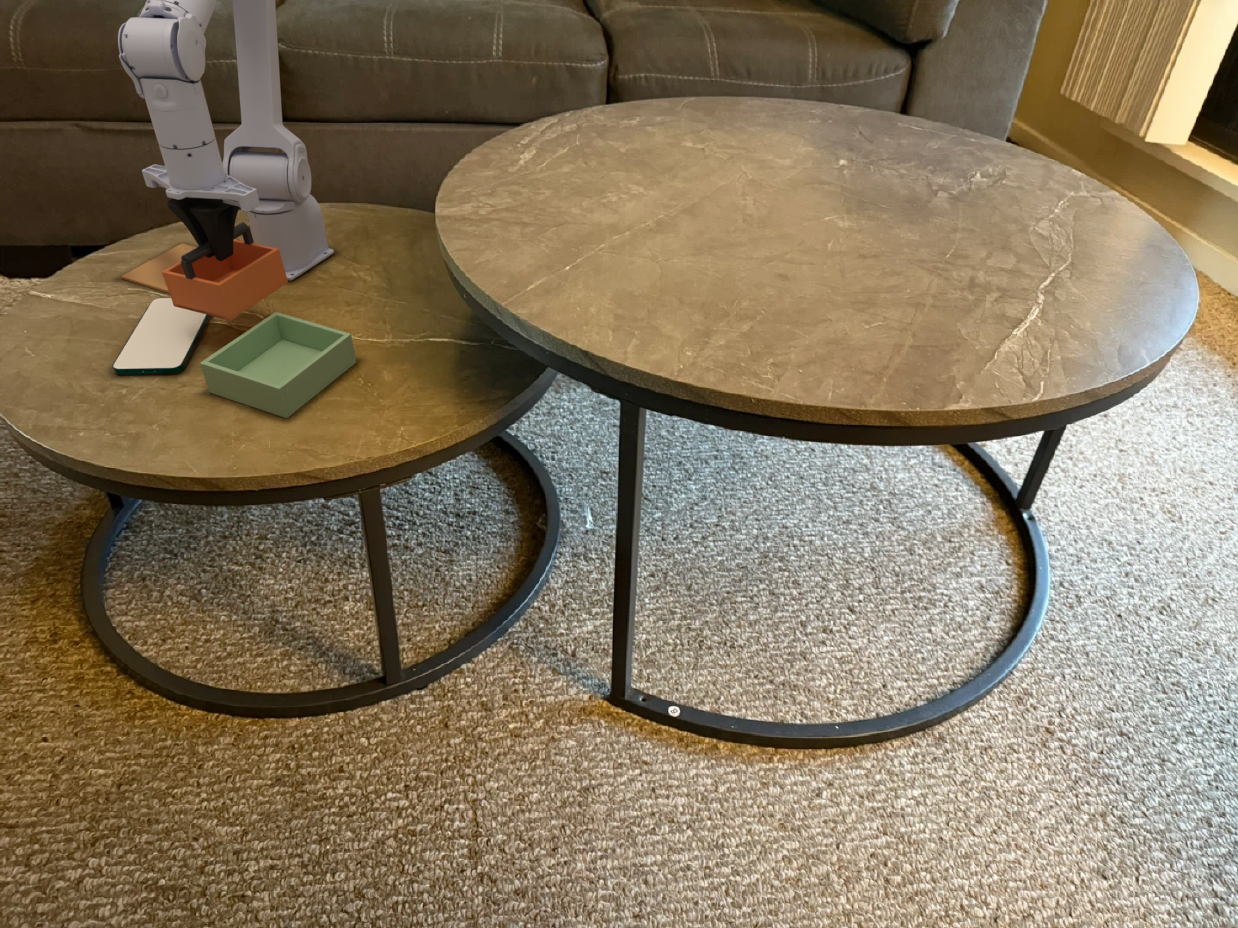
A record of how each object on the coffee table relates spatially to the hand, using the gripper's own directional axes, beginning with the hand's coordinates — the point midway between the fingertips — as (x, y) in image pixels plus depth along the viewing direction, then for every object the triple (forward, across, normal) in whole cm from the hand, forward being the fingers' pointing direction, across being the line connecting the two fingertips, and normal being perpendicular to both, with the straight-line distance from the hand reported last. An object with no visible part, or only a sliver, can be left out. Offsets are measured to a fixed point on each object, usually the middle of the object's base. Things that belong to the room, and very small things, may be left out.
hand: (219, 255), depth 106 cm
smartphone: (+10, -7, -5) cm, 13 cm away
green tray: (+10, +11, -6) cm, 16 cm away
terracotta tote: (+5, 0, 0) cm, 5 cm away
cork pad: (+10, -19, +9) cm, 23 cm away
